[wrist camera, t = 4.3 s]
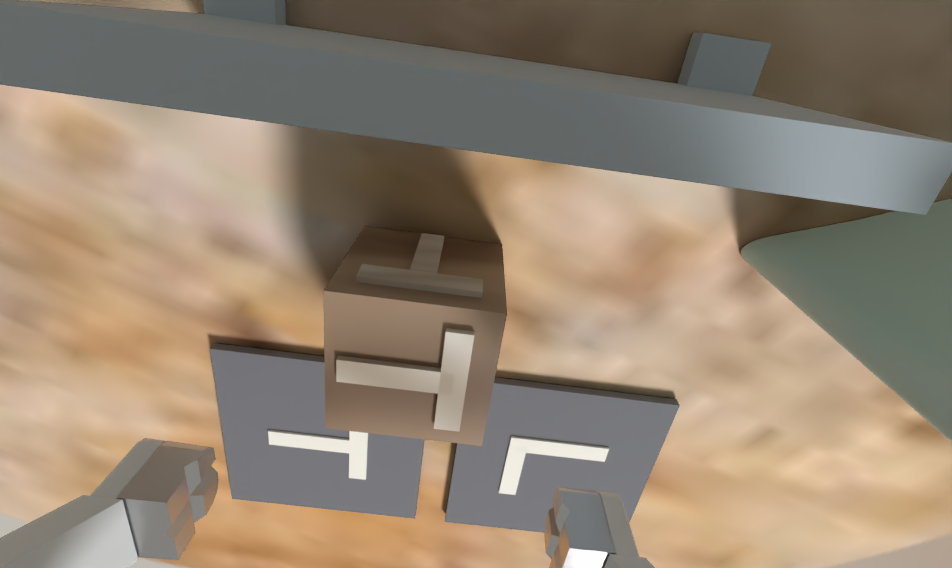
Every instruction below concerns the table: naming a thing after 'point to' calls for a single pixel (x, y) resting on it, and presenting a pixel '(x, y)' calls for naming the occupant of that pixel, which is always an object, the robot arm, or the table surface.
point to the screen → (473, 99)
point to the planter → (877, 296)
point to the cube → (414, 336)
